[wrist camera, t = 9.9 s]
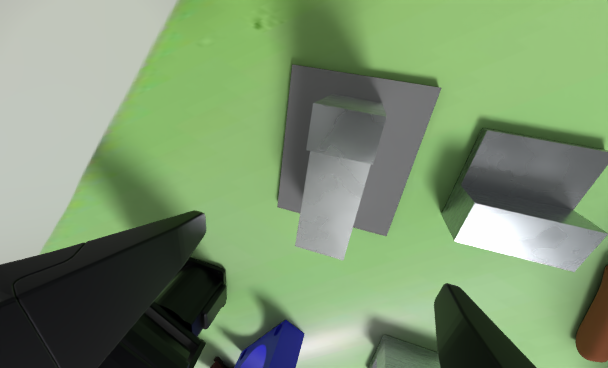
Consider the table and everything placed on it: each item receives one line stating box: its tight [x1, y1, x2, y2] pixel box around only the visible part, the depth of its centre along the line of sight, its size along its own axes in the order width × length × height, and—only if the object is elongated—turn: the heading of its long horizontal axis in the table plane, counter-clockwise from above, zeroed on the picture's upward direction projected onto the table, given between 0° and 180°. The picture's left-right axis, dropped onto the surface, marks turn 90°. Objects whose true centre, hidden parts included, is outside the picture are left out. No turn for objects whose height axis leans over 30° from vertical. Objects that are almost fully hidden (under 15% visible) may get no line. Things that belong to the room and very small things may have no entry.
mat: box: [278, 65, 441, 236], centre depth 19 cm, size 10×12×1 cm
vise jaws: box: [368, 128, 608, 368], centre depth 21 cm, size 7×30×4 cm, turn 172°
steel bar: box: [295, 94, 387, 260], centre depth 16 cm, size 4×10×6 cm, turn 172°
